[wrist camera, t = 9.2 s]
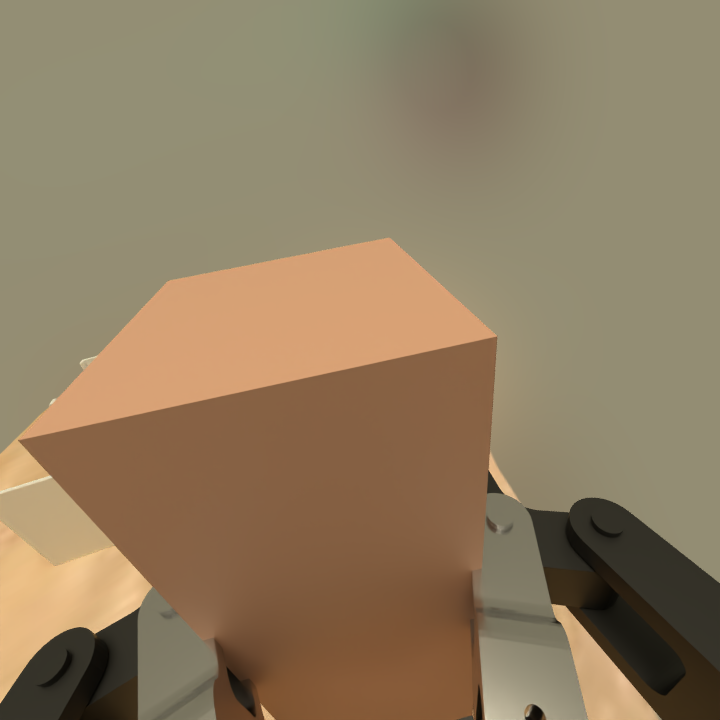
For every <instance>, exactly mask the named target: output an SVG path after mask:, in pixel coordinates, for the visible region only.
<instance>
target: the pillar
mask: <svg viewBox="0 0 720 720" xmlns="http://www.w3.org/2000/svg"><path fill="white" fill-rule="evenodd" d="M496 348H497V336H496V335H495V334H494V333H493V332H492V331H491V330H490V329H489V328H488V327H487V326H485V325H484V324H483V323H482V322H481V321H480V320H479V319H478V318H477V317H476V316H475V315H473V314H472V313H471V312H470V311H469V310H468V309H467V308H466V307H465V306H463V304H461V303H460V302H459V301H458V300H457V299H456V298H455V297H454V296H453V295H452V294H451V293H449V292H448V291H447V290H446V289H445V288H444V287H443V286H442V285H441V284H439V282H437V281H436V280H435V279H434V278H433V277H432V276H431V275H430V274H429V273H428V272H427V271H425V270H424V269H423V268H422V267H421V266H420V265H419V264H418V263H417V262H416V261H415V260H413V259H412V258H411V257H410V256H409V255H408V254H407V253H406V252H405V251H404V250H402V249H401V248H400V247H399V246H398V245H397V244H396V243H395V242H394V241H393V240H392V239H390V238H385V239H380V240H375V241H369V242H364V243H359V244H354V245H349V246H344V247H339V248H334V249H329V250H323V251H319V252H313V253H308V254H303V255H298V256H293V257H287V258H282V259H277V260H272V261H268V262H262V263H257V264H252V265H247V266H242V267H237V268H232V269H226V270H221V271H216V272H211V273H206V274H201V275H196V276H191V277H186V278H180V279H175V280H170V281H168V282H167V283H166V284H165V285H164V286H163V287H162V288H161V289H160V290H159V291H158V292H157V293H156V294H155V295H154V296H153V298H152V299H151V300H150V301H149V302H148V303H147V304H146V305H145V306H144V307H143V308H142V309H141V310H140V311H139V312H138V314H137V315H136V316H135V317H134V318H133V319H132V320H131V321H130V322H129V323H128V324H127V325H126V326H125V327H124V328H123V330H121V331H120V333H119V334H118V335H117V336H116V337H115V338H114V339H113V340H112V341H111V342H110V343H109V344H108V345H107V346H106V348H105V349H104V350H103V351H102V352H101V353H100V354H99V355H98V356H97V357H96V358H95V359H94V360H93V361H92V362H91V363H90V364H89V366H88V367H87V368H86V369H85V370H84V371H83V372H82V373H81V374H80V375H79V376H78V377H77V378H76V379H75V380H74V381H73V383H72V384H71V385H70V386H69V387H68V388H67V389H66V390H65V391H64V392H63V393H62V394H61V395H60V396H59V397H58V398H57V400H56V401H55V402H54V403H53V404H52V405H51V406H50V407H49V408H48V409H47V410H46V411H45V412H44V413H43V414H42V415H41V417H40V418H39V419H38V420H37V421H36V422H35V423H34V424H33V425H32V426H31V427H30V428H29V429H28V430H27V431H26V432H25V434H24V435H23V436H22V437H21V438H20V439H19V440H18V441H19V442H20V443H21V444H22V445H23V446H24V447H25V448H26V449H27V451H28V452H29V453H30V454H31V455H32V456H33V457H34V458H35V459H36V460H37V461H38V462H39V464H40V465H41V466H42V467H43V468H44V469H45V470H46V471H47V472H48V473H49V474H50V476H51V477H52V478H53V479H54V480H55V481H56V482H57V483H58V484H59V485H60V486H61V487H62V489H63V490H64V491H65V492H66V493H67V494H68V495H69V496H70V497H71V498H72V499H73V500H74V502H75V503H76V504H77V505H78V506H79V507H80V508H81V509H82V510H83V511H84V512H85V513H86V515H87V516H88V517H89V518H90V519H91V520H92V521H93V522H94V523H95V524H96V525H97V526H98V528H99V529H100V530H101V531H102V532H103V533H104V534H105V535H106V536H107V537H108V538H109V540H110V541H111V542H112V543H113V544H114V545H115V546H116V547H117V548H118V549H119V550H120V551H121V553H122V554H123V555H124V556H125V557H126V558H127V559H128V560H129V561H130V562H131V563H132V564H133V566H134V567H135V568H136V569H137V570H138V571H139V572H140V573H141V574H142V575H143V576H144V577H145V579H146V580H147V581H148V582H149V583H150V584H151V585H152V586H153V587H154V588H155V589H156V590H157V592H158V593H159V594H160V595H161V596H162V597H163V598H164V599H165V600H166V601H167V602H168V603H169V605H170V606H171V607H172V608H173V609H174V610H175V611H176V612H177V613H178V614H179V615H180V617H181V618H182V619H183V620H184V621H185V622H186V623H187V624H188V625H189V626H190V627H191V628H192V630H193V631H194V632H195V633H196V634H197V635H198V636H199V637H200V638H201V639H202V640H206V639H210V638H214V639H215V640H216V641H217V642H218V643H219V644H220V645H221V647H222V648H223V652H224V657H225V663H226V666H227V667H228V669H229V670H230V671H231V672H232V673H233V674H234V675H235V676H236V677H237V678H238V679H239V680H240V681H242V680H245V679H250V680H251V681H252V682H253V683H254V684H255V685H256V688H257V692H258V696H259V700H260V703H261V704H262V705H263V707H264V708H265V709H266V710H267V711H268V712H269V713H270V714H271V715H272V716H273V717H274V718H275V720H457V719H461V718H464V717H468V716H471V715H472V710H473V689H472V657H471V640H470V619H474V611H473V596H472V571H473V570H477V569H481V568H482V559H483V544H484V529H485V514H486V499H487V484H488V469H489V454H490V439H491V438H490V437H491V424H492V409H493V408H492V407H493V393H494V379H495V363H496Z"/></svg>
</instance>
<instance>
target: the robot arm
mask: <svg viewBox="0 0 720 720" xmlns="http://www.w3.org/2000/svg"><path fill="white" fill-rule="evenodd" d="M472 596H473V611H474V619H470V640H471V657H472V689H473V710H474V719H473V716H472V715H471V716H468V717H464V718H461V719H457V720H588V717H587V713H586V709H585V705H584V701H583V697H582V693H581V689H580V685H579V681H578V677H577V673H576V669H575V665H574V661H573V657H572V653H571V649H570V645H569V641H568V638H567V635H566V633H565V630H564V628H563V626H562V624H561V623H560V622H559V621H557V620H556V618H555V615H554V613H553V609H552V605H551V604H556V605H564V606H566V607H567V608H568V609H569V611H570V612H571V613H572V614H573V615H574V617H575V618H576V619H577V620H578V621H579V622H580V624H581V625H582V626H583V627H584V628H585V629H586V631H587V632H588V633H589V634H590V635H591V637H592V638H593V639H594V640H595V641H596V642H597V644H598V645H599V646H600V647H601V648H602V649H603V651H604V652H605V653H606V654H607V655H608V657H609V658H610V659H611V660H612V661H613V662H614V664H615V665H616V666H617V667H618V668H619V669H620V671H621V672H622V673H623V674H624V675H625V677H626V678H627V679H628V680H629V681H630V682H631V684H632V685H633V686H634V687H635V688H636V690H637V691H638V692H639V693H640V694H641V695H642V697H643V698H644V699H645V700H646V701H647V702H648V704H649V705H650V706H651V707H652V708H653V710H654V711H655V712H656V713H657V714H658V715H659V717H660V718H661V719H662V720H720V583H719V582H717V581H716V580H715V579H713V578H712V577H711V576H710V575H708V574H707V573H706V572H705V571H703V570H702V569H701V568H699V567H698V566H697V565H696V564H695V563H693V562H692V561H691V560H689V559H688V558H687V557H685V556H684V555H683V554H682V553H680V552H679V551H678V550H677V549H676V548H674V547H673V546H672V545H670V544H669V543H668V542H667V541H665V540H664V539H663V538H661V537H660V536H659V535H658V534H657V533H655V532H654V531H653V530H651V529H650V528H649V527H648V526H646V525H645V524H644V523H643V522H641V521H640V520H639V519H638V518H636V517H635V516H634V515H633V514H631V513H630V512H629V511H627V510H626V509H624V508H623V507H621V506H619V505H618V504H616V503H613V502H611V501H608V500H605V499H600V498H585V499H581V500H579V501H577V502H576V503H574V505H573V506H572V507H571V509H570V512H569V513H568V512H554V511H553V512H552V511H539V510H533V509H529V508H526V507H524V506H523V505H522V504H521V503H520V502H518V501H517V500H515V499H514V498H512V497H510V496H507V495H505V494H504V493H503V492H502V491H501V490H500V488H499V487H498V485H497V483H496V482H495V480H494V478H493V477H492V475H491V473H490V472H489V470H488V484H487V499H486V514H485V529H484V544H483V559H482V568H481V569H477V570H473V571H472ZM0 720H265V719H264V716H263V713H262V709H261V705H260V700H259V696H258V692H257V688H256V685H255V684H254V683H253V682H252V681H251V680H250V679H245V680H242V681H240V680H239V679H238V678H237V677H236V676H235V675H234V674H233V673H232V672H231V671H230V670H229V669H228V667H227V666H226V663H225V657H224V652H223V648H222V647H221V645H220V644H219V643H218V642H217V641H216V640H215V639H214V638H210V639H206V640H202V639H201V638H200V637H199V636H198V635H197V634H196V633H195V632H194V631H193V630H192V628H191V627H190V626H189V625H188V624H187V623H186V622H185V621H184V620H183V619H182V618H181V617H180V615H179V614H178V613H177V612H176V611H175V610H174V609H173V608H172V607H171V606H170V605H169V603H168V602H167V601H166V600H165V599H164V598H163V597H162V596H161V595H160V594H159V593H158V592H157V590H156V589H155V588H154V587H152V589H151V590H150V591H149V592H148V594H147V595H146V597H145V599H144V600H143V602H142V605H141V607H139V608H138V609H137V610H135V611H134V612H132V613H131V614H129V615H127V616H126V617H124V618H122V619H120V620H119V621H117V622H115V623H113V624H112V625H110V626H108V627H106V628H105V629H103V630H101V631H99V632H98V633H96V634H94V633H93V632H92V631H90V630H89V629H87V628H83V627H78V628H73V629H69V630H67V631H65V632H63V633H61V634H59V635H57V636H56V637H54V638H53V639H52V640H50V641H49V642H48V643H47V644H45V645H44V646H43V647H42V648H41V649H40V650H39V651H38V652H37V653H36V654H35V655H34V657H33V658H32V659H31V660H30V661H29V663H28V664H27V665H26V667H25V668H24V670H23V671H22V673H21V674H20V675H19V677H18V678H17V680H16V681H15V683H14V684H13V686H12V687H11V689H10V690H9V692H8V693H7V695H6V696H5V698H4V699H3V701H2V702H1V703H0Z"/></svg>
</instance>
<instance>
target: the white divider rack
mask: <svg viewBox="0 0 720 720" xmlns="http://www.w3.org/2000/svg"><path fill="white" fill-rule="evenodd" d="M96 357H97V356H96ZM96 357H92V358H88V359H84V360H82V361H81V362H80V365H81V367H82V368H83V369H84V370H85V369H86V368H87V367H88V366H89V364H90V363H91V362H92V361H93V360H94V359H95V358H96ZM56 400H57V398H56V399H53V400H52V401H51V403H50V406H51V405H52V404H53V403H54V402H55V401H56ZM0 520H1V521H2V522H3V523H4V524H5V525H7V526H8V527H9V528H10V529H11V530H13V531H14V532H15V533H16V534H17V535H18V536H20V537H21V538H22V539H23V540H24V541H26V542H27V543H28V544H29V545H30V546H32V547H33V548H34V549H35V550H36V551H38V552H39V553H40V554H41V555H42V556H44V557H45V558H46V559H47V560H48V561H49V562H51V563H52V564H53V565H54V566H58V565H61V564H63V563H66V562H69V561H72V560H75V559H78V558H81V557H83V556H86V555H89V554H92V553H95V552H98V551H100V550H103V549H106V548H109V547H112V546H115V545H114V544H113V543H112V542H111V541H110V540H109V538H108V537H107V536H106V535H105V534H104V533H103V532H102V531H101V530H100V529H99V528H98V526H97V525H96V524H95V523H94V522H93V521H92V520H91V519H90V518H89V517H88V516H87V515H86V513H85V512H84V511H83V510H82V509H81V508H80V507H79V506H78V505H77V504H76V503H75V502H74V500H73V499H72V498H71V497H70V496H69V495H68V494H67V493H66V492H65V491H64V490H63V489H62V487H61V486H60V485H59V484H58V483H57V482H56V481H55V480H54V479H53V478H52V477H51V476H48V477H45V478H41V479H38V480H35V481H32V482H28V483H25V484H22V485H19V486H15V487H12V488H9V489H6V490H3V491H0Z"/></svg>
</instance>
